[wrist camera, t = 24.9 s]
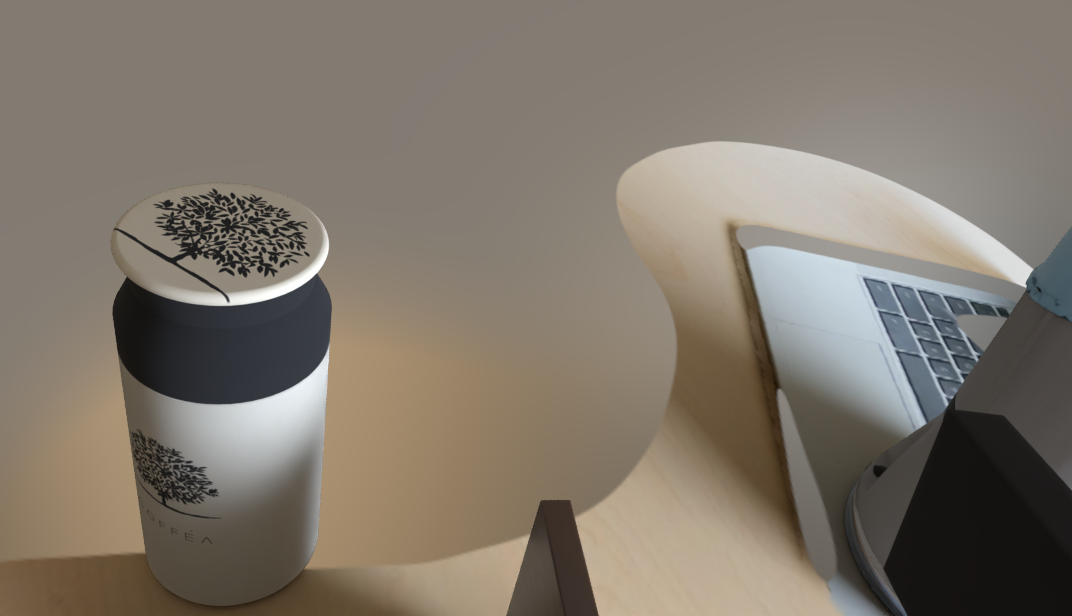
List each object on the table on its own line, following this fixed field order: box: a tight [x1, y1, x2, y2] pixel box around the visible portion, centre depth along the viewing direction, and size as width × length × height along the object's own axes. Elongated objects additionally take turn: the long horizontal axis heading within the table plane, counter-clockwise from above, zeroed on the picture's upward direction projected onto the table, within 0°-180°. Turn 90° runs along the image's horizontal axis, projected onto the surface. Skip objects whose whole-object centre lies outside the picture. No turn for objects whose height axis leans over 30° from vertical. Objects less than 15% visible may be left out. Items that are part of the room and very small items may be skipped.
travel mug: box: [111, 183, 332, 606], centre depth 37 cm, size 8×8×18 cm
